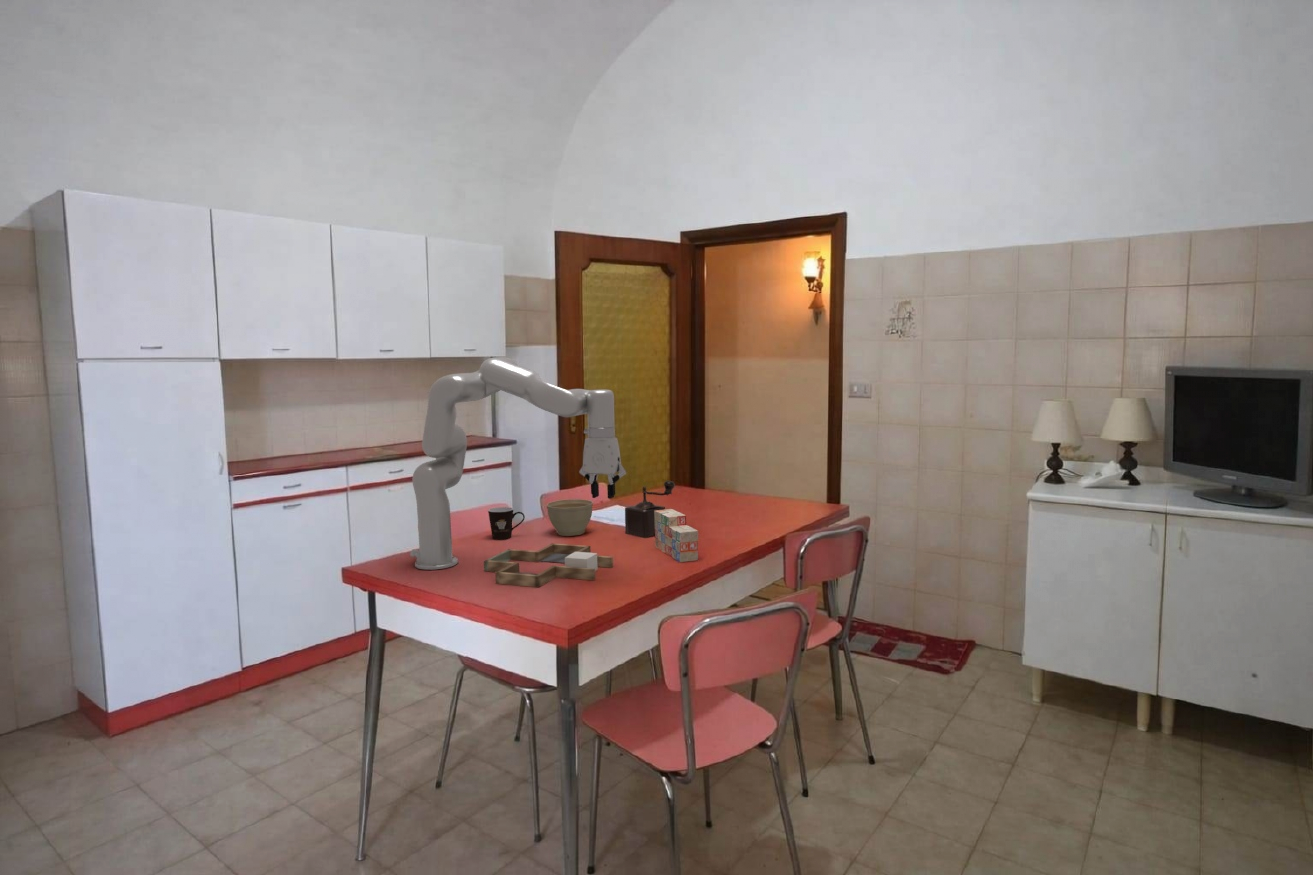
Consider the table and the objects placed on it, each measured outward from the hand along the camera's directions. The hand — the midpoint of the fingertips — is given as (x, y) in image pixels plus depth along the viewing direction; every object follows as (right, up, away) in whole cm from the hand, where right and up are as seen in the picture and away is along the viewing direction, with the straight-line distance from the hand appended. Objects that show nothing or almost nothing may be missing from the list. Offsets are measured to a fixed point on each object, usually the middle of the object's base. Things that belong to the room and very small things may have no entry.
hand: (603, 496), depth 220 cm
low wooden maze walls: (-17, -22, +9) cm, 29 cm away
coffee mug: (-37, -18, +48) cm, 63 cm away
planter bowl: (-15, -17, +53) cm, 58 cm away
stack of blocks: (+21, -20, +24) cm, 37 cm away
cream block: (-7, -22, +5) cm, 24 cm away
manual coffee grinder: (+13, -17, +53) cm, 57 cm away
